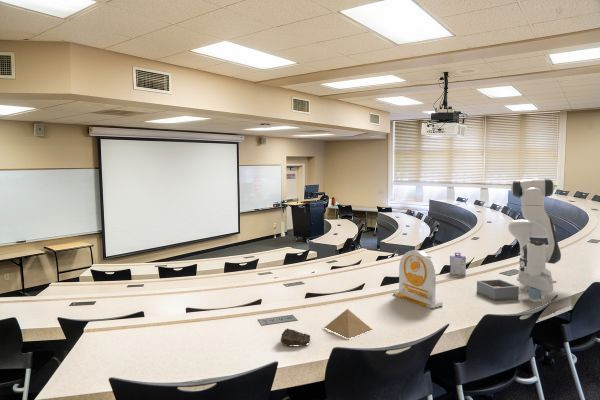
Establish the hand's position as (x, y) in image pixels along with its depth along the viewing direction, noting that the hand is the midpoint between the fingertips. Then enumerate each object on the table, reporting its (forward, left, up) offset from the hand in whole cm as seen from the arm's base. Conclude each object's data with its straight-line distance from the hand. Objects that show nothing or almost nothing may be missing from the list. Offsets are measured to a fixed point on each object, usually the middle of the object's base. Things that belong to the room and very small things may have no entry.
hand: (535, 295), depth 214 cm
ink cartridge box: (+7, -60, -3) cm, 60 cm away
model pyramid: (+112, +15, -3) cm, 113 cm away
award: (+62, -15, -3) cm, 64 cm away
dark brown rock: (+137, +24, -3) cm, 139 cm away
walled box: (+14, -12, -3) cm, 19 cm away
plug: (0, 0, -3) cm, 3 cm away
